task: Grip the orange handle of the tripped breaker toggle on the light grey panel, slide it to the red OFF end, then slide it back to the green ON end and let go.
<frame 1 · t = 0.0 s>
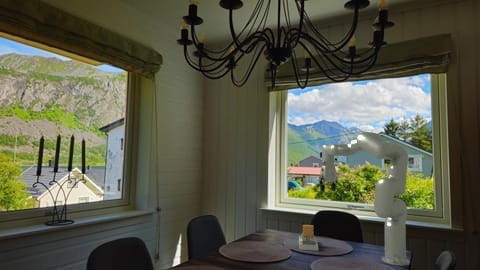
hand: (328, 190, 198), 31 cm above the table, fingers open, 9 cm apart
breaker panel: (308, 245, 184), on the table
breaker lever: (308, 232, 184), point 7 cm above the table, slide at 0.0 cm
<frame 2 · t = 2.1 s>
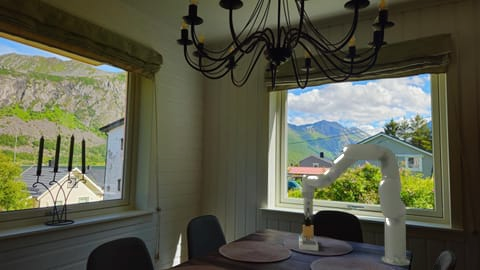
hand: (307, 224, 185), 12 cm above the table, fingers open, 9 cm apart
nothing on the table moved.
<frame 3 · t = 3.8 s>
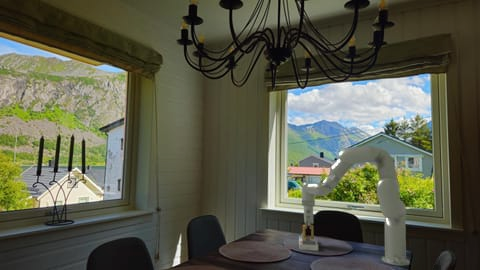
hand: (308, 234, 184), 6 cm above the table, fingers closed on breaker lever, 2 cm apart
breaker lever: (308, 232, 184), point 7 cm above the table, slide at 0.0 cm, touching gripper
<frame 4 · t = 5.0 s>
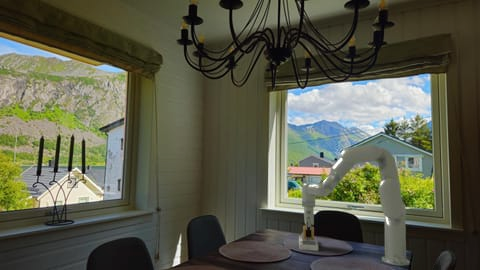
hand: (308, 236, 181), 6 cm above the table, fingers closed on breaker lever, 2 cm apart
breaker lever: (308, 234, 181), point 7 cm above the table, slide at -3.6 cm, touching gripper
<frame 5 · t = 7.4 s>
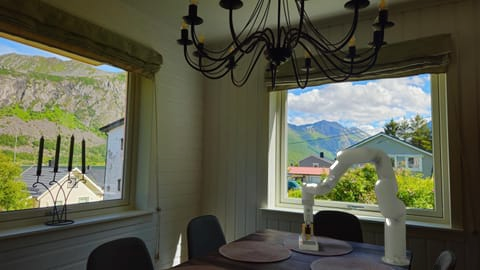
hand: (307, 233, 188), 6 cm above the table, fingers closed on breaker lever, 2 cm apart
breaker lever: (307, 231, 188), point 7 cm above the table, slide at 3.8 cm, touching gripper
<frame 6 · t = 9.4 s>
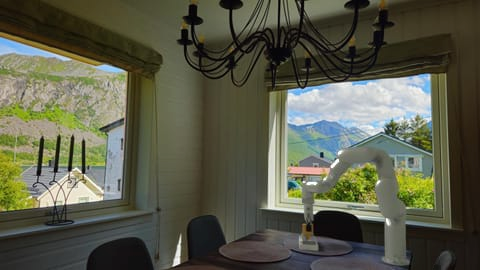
hand: (308, 229, 188), 8 cm above the table, fingers open, 9 cm apart
breaker lever: (307, 231, 188), point 7 cm above the table, slide at 3.8 cm
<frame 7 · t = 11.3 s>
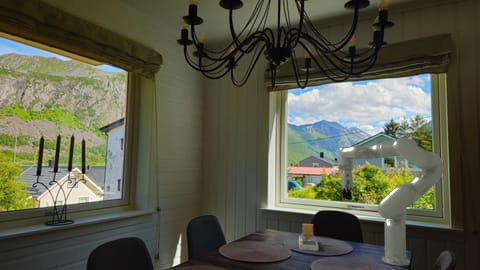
hand: (347, 198, 178), 29 cm above the table, fingers open, 9 cm apart
nothing on the table moved.
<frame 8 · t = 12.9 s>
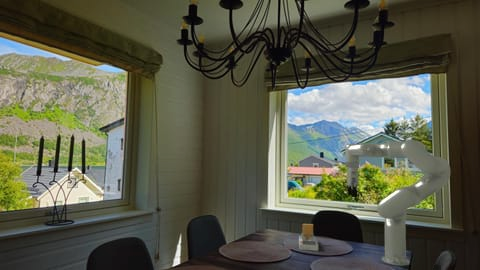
hand: (352, 196, 176), 30 cm above the table, fingers open, 9 cm apart
nothing on the table moved.
at the end: breaker lever slide at 3.8 cm; the gripper is holding nothing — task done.
